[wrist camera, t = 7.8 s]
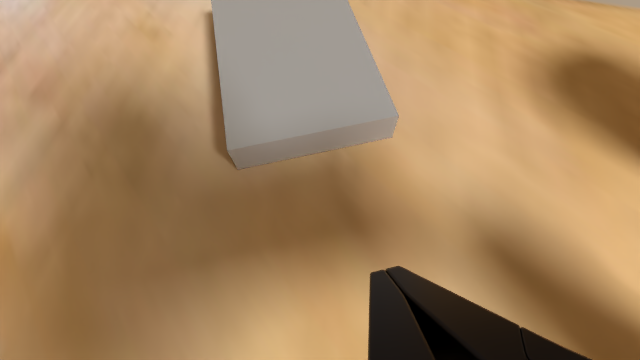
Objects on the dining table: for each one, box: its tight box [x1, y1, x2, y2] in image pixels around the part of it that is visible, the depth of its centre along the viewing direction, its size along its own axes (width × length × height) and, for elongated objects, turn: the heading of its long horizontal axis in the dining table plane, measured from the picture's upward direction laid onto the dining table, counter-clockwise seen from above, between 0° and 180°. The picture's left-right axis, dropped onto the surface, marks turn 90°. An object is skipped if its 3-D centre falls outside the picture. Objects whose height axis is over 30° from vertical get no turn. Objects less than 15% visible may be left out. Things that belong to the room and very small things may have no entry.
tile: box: [211, 0, 399, 170], centre depth 22 cm, size 3×10×14 cm
